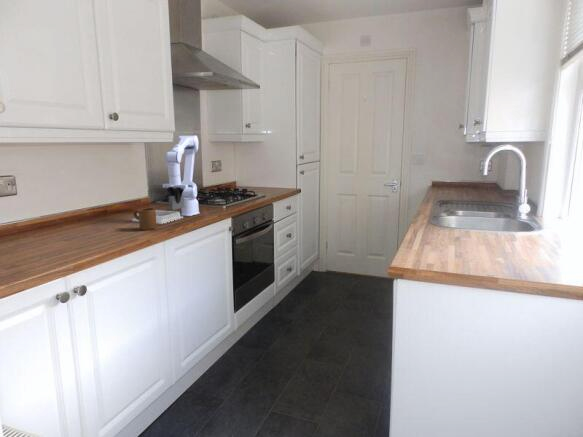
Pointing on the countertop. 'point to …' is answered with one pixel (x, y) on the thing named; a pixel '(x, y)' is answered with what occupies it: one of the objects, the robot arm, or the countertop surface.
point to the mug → (146, 218)
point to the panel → (176, 202)
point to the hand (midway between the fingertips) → (176, 202)
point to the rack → (164, 216)
